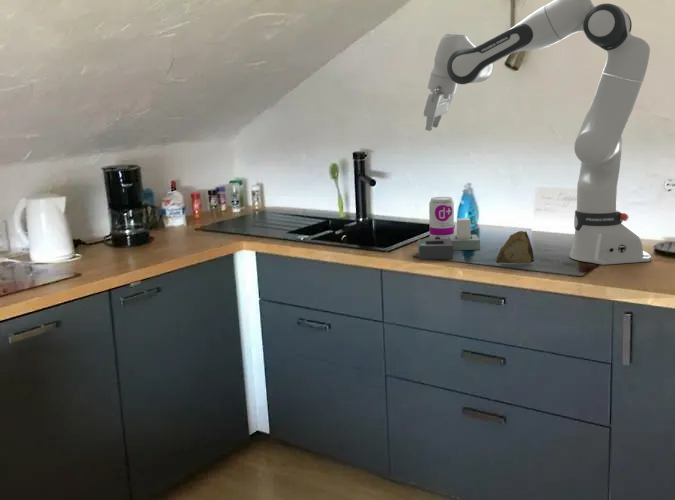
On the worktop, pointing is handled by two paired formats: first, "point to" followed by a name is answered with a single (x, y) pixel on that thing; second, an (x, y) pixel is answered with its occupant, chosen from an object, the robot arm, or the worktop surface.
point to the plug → (464, 228)
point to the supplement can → (441, 217)
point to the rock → (516, 249)
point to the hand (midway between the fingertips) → (431, 128)
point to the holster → (465, 243)
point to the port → (435, 249)
